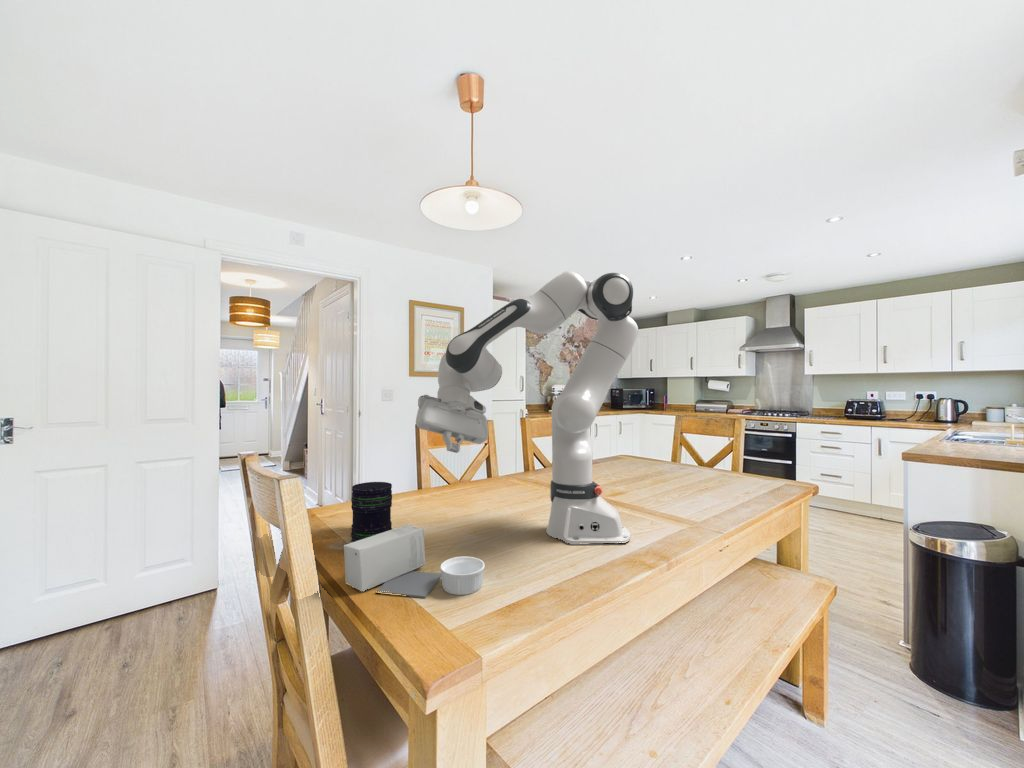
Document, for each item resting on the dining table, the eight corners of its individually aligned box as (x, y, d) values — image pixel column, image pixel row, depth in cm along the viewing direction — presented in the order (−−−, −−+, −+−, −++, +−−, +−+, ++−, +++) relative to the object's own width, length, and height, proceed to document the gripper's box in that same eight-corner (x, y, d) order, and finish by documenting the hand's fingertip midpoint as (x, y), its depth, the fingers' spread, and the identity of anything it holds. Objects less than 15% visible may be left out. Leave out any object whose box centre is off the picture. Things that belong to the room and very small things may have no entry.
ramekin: (489, 593, 81) (489, 571, 81) (443, 600, 78) (443, 576, 78) (479, 574, 89) (479, 554, 89) (437, 579, 87) (437, 558, 87)
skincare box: (408, 523, 96) (342, 542, 85) (425, 528, 92) (359, 549, 80) (409, 560, 96) (343, 584, 84) (426, 567, 92) (360, 593, 80)
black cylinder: (349, 541, 109) (350, 483, 109) (388, 536, 113) (389, 480, 113) (352, 555, 100) (353, 491, 100) (394, 548, 104) (395, 488, 104)
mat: (442, 575, 89) (442, 573, 89) (425, 598, 79) (425, 596, 79) (397, 572, 90) (397, 570, 90) (375, 593, 80) (375, 591, 80)
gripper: (425, 387, 105) (422, 437, 98) (490, 408, 117) (492, 454, 109) (413, 398, 109) (409, 446, 102) (477, 417, 121) (478, 463, 113)
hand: (453, 451), depth 106 cm, fingers closed
